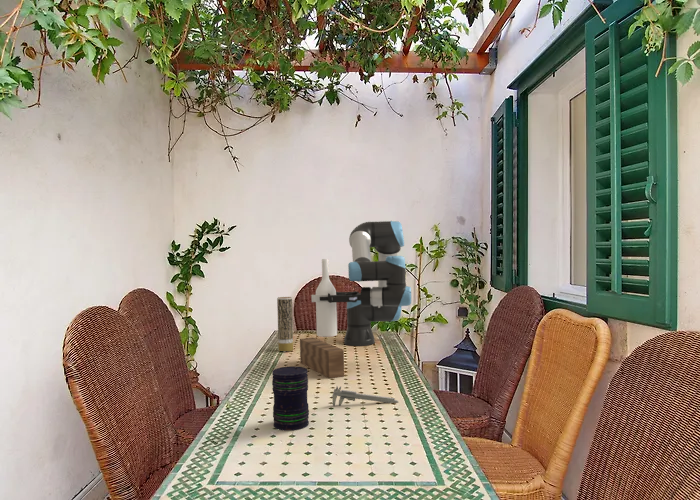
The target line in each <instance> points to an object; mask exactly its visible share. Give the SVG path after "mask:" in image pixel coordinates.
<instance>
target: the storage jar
mask: <svg viewBox="0 0 700 500" xmlns="http://www.w3.org/2000/svg"><path fill="white" fill-rule="evenodd" d="M271 374H272V375H271V376H272V381H271V384H272V389H271V390H272V393H273V406H272V411H273V412H272V417H273V428H274V427H275V428H274V429H277V430H278V429H279V431H283V430H284V432H286V431H287V432H290V431H291V432H293V431H299V430H303V429H305V428H308V426H309V425H310V424H309V422H310V421H309V417H310V416H309V415H310V409H309V408H310V407H309V403H308V391H309V378H308V376H309V375H308V369H307V368H306V367H303V366H295V365H293V366H292V365H290V366H282V367H278V368H275V369H273V370H272V373H271Z"/></svg>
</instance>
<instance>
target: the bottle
mask: <svg viewBox="0 0 700 500" xmlns="http://www.w3.org/2000/svg"><path fill="white" fill-rule="evenodd" d="M329 262H330V261H329V258H322V259H321V280H320V281H319V284H318V286H317V288H316V289H315V295H328V293H329V294H330V295H336V292H337V291H336V288H335V286H334V284H333V283H332V281H331V279H330V272H329V270H330V269H329V267H330V264H329ZM337 309H338V308H337V302H331V303H329V302H315V314H316V315H315V317H316V318H315V320H316V325H315V326H316V336H317V337H320V338H321V337H322V338H329V337H335V336H338V312H337Z"/></svg>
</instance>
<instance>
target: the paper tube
mask: <svg viewBox="0 0 700 500" xmlns="http://www.w3.org/2000/svg"><path fill="white" fill-rule="evenodd" d="M292 297H293V296H280V297H279V296H278V297H277V299H276V300H277V303H276V304H277V307H276V308H277V309H276V310H277V333H278V334H277V338H278V339H277V340H278V341H277V343H278V352H280V351H290V352H292V351H293V350H294V332H293V331H294V329H293V328H294V327H293V326H294V325H293V323H294V322H293V298H292Z"/></svg>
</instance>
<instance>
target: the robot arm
mask: <svg viewBox="0 0 700 500" xmlns="http://www.w3.org/2000/svg"><path fill="white" fill-rule="evenodd" d="M404 238H405V237H404V231H403V225H402V223H401V221H398V220H396V221H394V220H393V221H392V220H390V221H389V220H388V221H387V220H385V221H384V220H383V221H365V222H362V223H360V224H359V225H356V227H355V228H353V230H351V232H350V234H349V238H348V242H349V246H350V248H351V254H352V255H351V257H352V261H350V262H349V263H348V265H347V266H348V270H347V271H348V280H349V281H350V282H376V281H377V284H378V285H377V286H372V287H370V286H363V287H361V288H360V291H354V290H353V291H336V295H330V294H329V293H328V295H316V294H311V296H310V297H311V303H316V302H329V303H331V302H336V303H346V314H347V315H346V316H347V317H346V321H347V322H346V323H347V326H346V327H347V328H346V331H345V335H344V339H343V343H344V345H346V346H352V347H362V346H365V347H366V346H370V345H374V344H376V342H375V336H374V332H373V329H372V325H371V324H372V323H373V322H376V323H377V322H390V323H391V322H396V321H399V319H400V318H401V315H402V307H407V306H408V307H409V306H411V304H412V287H411V286H407V282H406V281H407V280H406V279H407V278H406V273H407V272H406V270H407V267H406V257H404V256H402V255H398V253H400V252H401V248H403V247H404V246H405V239H404ZM371 248H375V251H376V253H378V260H377V261H372V256H371V255H372V254H371Z"/></svg>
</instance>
